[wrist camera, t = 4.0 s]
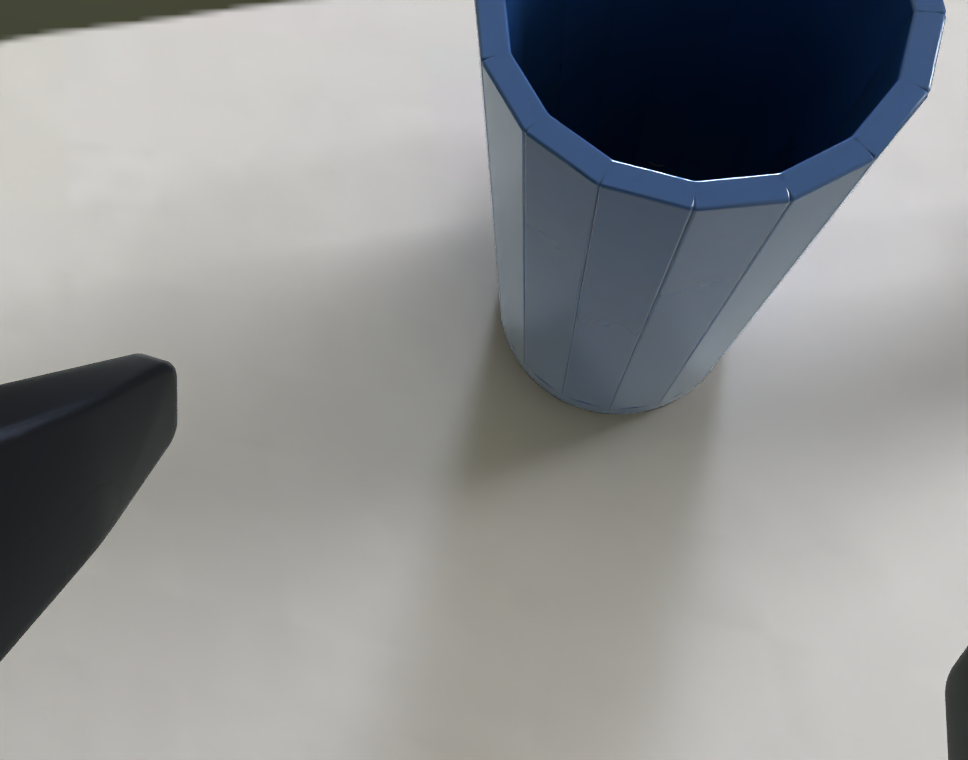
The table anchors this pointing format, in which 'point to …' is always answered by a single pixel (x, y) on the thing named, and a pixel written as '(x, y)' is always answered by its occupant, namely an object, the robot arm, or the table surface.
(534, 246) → the mug
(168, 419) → the robot arm
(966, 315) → the table surface
